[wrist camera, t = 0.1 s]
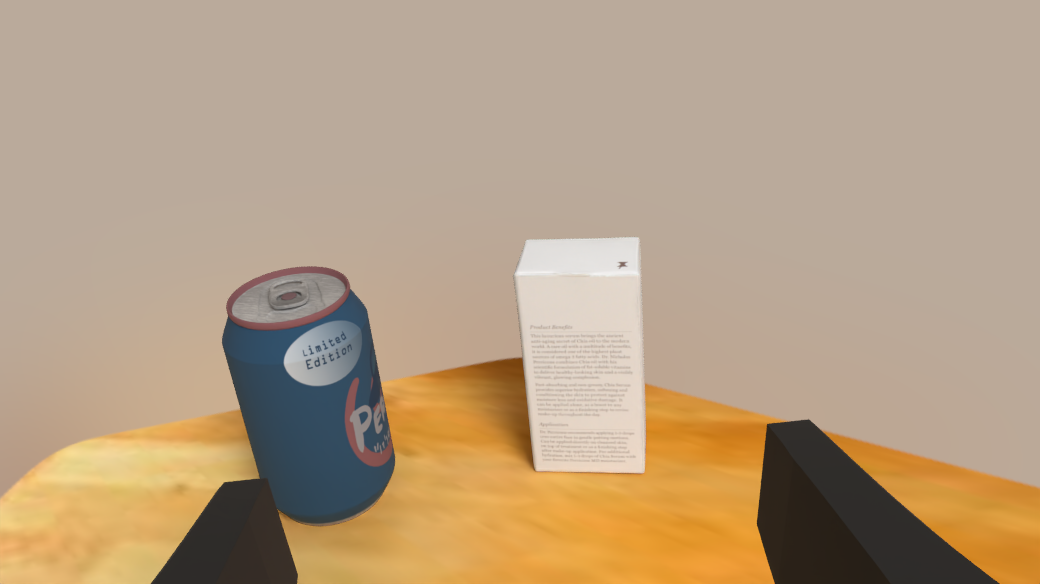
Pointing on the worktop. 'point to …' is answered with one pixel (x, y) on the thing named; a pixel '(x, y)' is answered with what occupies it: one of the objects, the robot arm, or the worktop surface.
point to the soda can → (310, 393)
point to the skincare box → (583, 353)
